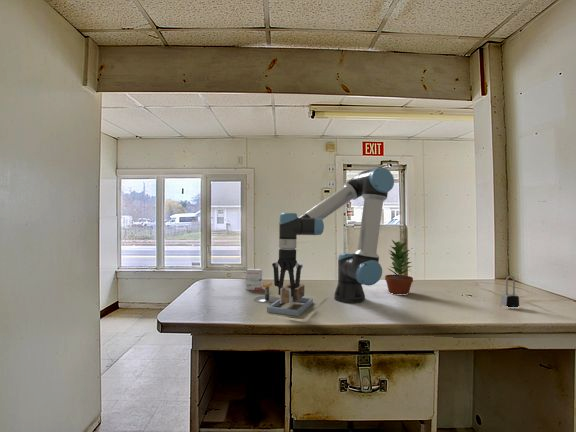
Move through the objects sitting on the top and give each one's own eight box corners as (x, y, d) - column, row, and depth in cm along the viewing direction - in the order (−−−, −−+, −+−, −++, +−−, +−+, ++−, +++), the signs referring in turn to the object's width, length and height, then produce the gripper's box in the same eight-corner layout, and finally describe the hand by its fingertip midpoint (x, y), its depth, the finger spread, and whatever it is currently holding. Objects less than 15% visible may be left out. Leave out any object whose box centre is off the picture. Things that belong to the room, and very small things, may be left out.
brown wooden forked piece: (289, 293, 148) (290, 283, 148) (304, 295, 146) (304, 284, 146) (276, 301, 134) (277, 290, 134) (292, 303, 131) (293, 291, 131)
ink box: (262, 289, 175) (262, 268, 175) (260, 292, 170) (260, 270, 170) (247, 289, 176) (247, 268, 176) (245, 291, 171) (245, 269, 171)
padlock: (513, 306, 148) (513, 275, 148) (520, 309, 144) (520, 276, 144) (499, 306, 148) (500, 274, 148) (506, 309, 143) (506, 276, 143)
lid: (284, 299, 155) (284, 282, 155) (274, 306, 143) (274, 287, 143) (260, 296, 159) (261, 279, 159) (248, 303, 147) (249, 285, 147)
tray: (312, 304, 146) (313, 298, 146) (298, 318, 127) (298, 310, 127) (285, 301, 151) (285, 295, 151) (266, 313, 132) (266, 306, 132)
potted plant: (418, 296, 164) (419, 239, 164) (389, 296, 164) (390, 239, 164) (408, 290, 179) (408, 237, 179) (381, 289, 179) (382, 237, 179)
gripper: (266, 248, 134) (265, 303, 134) (302, 250, 128) (301, 308, 128) (273, 247, 141) (272, 299, 141) (308, 249, 135) (307, 303, 135)
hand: (286, 303), depth 134 cm, fingers closed on brown wooden forked piece, 3 cm apart
